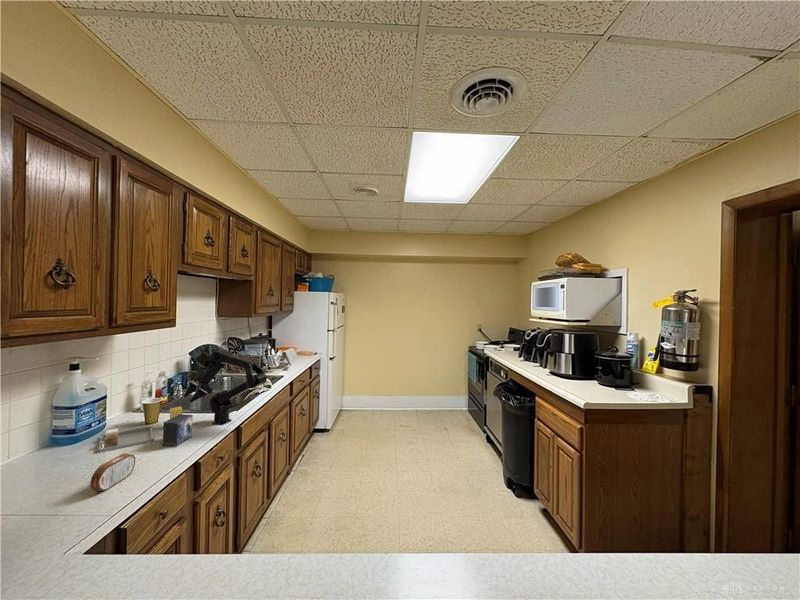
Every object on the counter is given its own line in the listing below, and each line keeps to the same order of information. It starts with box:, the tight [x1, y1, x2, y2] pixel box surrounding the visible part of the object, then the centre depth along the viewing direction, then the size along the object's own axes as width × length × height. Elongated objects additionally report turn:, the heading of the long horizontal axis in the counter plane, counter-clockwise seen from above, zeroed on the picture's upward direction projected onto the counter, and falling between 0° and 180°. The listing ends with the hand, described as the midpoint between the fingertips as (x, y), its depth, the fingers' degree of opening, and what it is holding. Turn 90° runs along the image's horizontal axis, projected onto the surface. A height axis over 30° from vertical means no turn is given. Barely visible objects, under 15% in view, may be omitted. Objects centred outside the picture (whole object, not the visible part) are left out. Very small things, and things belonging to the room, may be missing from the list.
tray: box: [97, 425, 155, 454], centre depth 147 cm, size 18×18×2 cm
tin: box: [89, 452, 136, 492], centre depth 114 cm, size 15×3×8 cm, turn 178°
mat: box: [155, 422, 197, 432], centre depth 163 cm, size 12×12×1 cm
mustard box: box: [169, 406, 183, 419], centre depth 163 cm, size 4×4×8 cm
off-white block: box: [105, 428, 119, 436], centre depth 146 cm, size 4×4×4 cm
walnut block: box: [105, 434, 118, 448], centre depth 141 cm, size 4×4×4 cm
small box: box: [162, 413, 194, 448], centre depth 146 cm, size 11×6×10 cm, turn 179°
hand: (187, 399), depth 163 cm, fingers open, 9 cm apart
